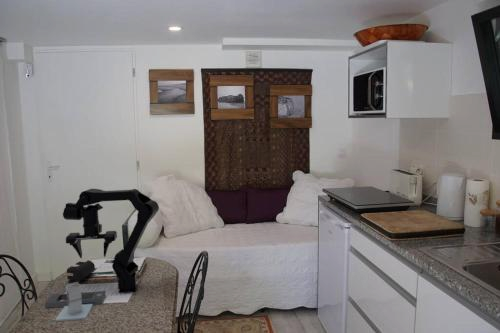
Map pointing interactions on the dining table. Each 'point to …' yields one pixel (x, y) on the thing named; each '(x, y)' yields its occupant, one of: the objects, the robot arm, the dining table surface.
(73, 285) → the block
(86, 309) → the tile
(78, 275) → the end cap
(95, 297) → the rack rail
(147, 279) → the dining table surface
